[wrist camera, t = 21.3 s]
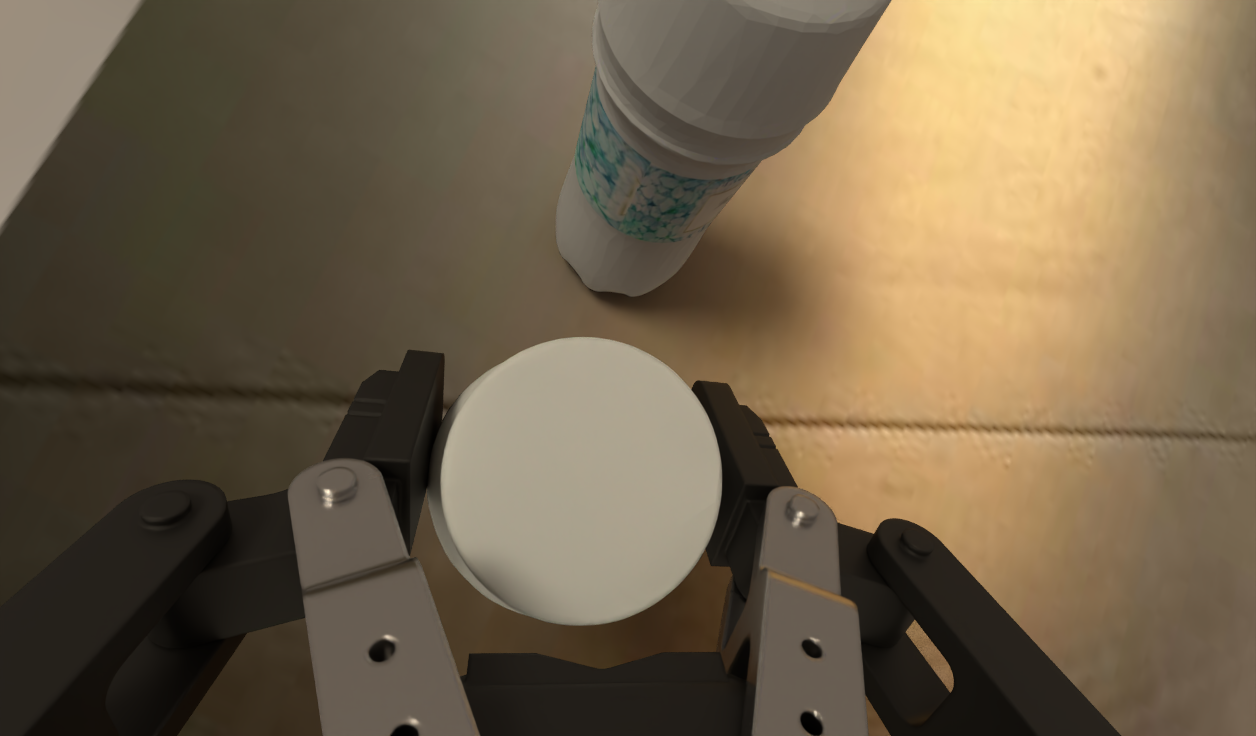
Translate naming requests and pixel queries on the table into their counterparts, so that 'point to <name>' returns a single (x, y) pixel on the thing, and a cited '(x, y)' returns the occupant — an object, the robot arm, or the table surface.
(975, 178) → the table surface
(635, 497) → the pill bottle
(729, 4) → the bottle
